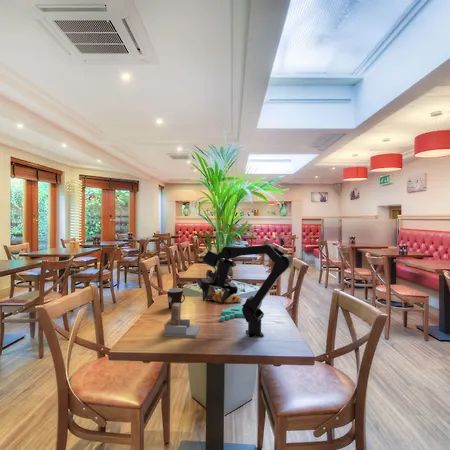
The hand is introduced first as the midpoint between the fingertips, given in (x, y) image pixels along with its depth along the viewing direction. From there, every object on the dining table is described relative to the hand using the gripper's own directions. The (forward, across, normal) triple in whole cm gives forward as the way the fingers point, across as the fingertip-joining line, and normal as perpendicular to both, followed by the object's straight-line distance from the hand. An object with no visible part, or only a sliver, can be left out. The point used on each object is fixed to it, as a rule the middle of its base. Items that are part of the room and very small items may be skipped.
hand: (212, 302), depth 133 cm
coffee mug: (+21, +6, -27) cm, 35 cm away
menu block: (+13, +15, +3) cm, 20 cm away
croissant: (+15, -24, -31) cm, 42 cm away
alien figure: (+9, -22, -6) cm, 24 cm away
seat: (+13, +12, +5) cm, 19 cm away
